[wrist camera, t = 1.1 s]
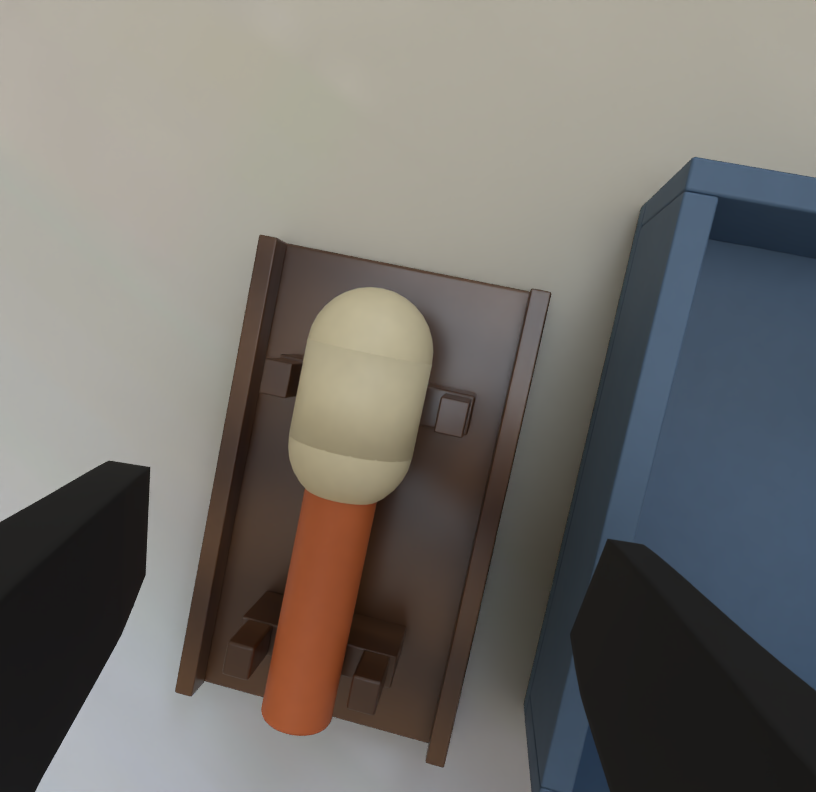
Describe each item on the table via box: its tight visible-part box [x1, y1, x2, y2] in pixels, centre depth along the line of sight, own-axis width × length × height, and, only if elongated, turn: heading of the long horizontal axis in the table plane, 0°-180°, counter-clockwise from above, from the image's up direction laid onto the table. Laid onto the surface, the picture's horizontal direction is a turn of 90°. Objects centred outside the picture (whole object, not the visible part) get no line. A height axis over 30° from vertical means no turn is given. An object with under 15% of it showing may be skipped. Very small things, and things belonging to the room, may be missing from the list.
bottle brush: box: [261, 287, 433, 736], centre depth 18 cm, size 12×3×3 cm, turn 168°
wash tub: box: [524, 157, 816, 792], centre depth 18 cm, size 17×12×5 cm
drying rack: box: [175, 235, 551, 767], centre depth 20 cm, size 15×9×5 cm, turn 168°
